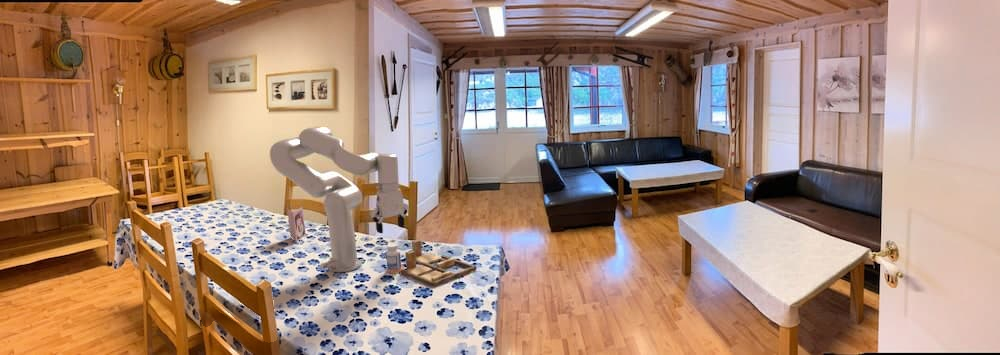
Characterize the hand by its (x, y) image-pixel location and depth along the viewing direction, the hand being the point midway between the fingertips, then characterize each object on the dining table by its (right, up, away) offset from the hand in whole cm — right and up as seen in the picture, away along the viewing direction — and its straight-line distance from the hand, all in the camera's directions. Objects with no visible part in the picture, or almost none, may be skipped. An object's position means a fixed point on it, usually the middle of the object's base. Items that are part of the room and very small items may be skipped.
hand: (390, 229), depth 190 cm
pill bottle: (+1, -16, +3) cm, 16 cm away
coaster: (+1, -16, +3) cm, 16 cm away
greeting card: (-56, -10, +47) cm, 74 cm away
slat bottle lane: (+14, -14, +10) cm, 22 cm away
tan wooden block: (+10, -16, +1) cm, 19 cm away
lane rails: (+18, -16, 0) cm, 24 cm away
